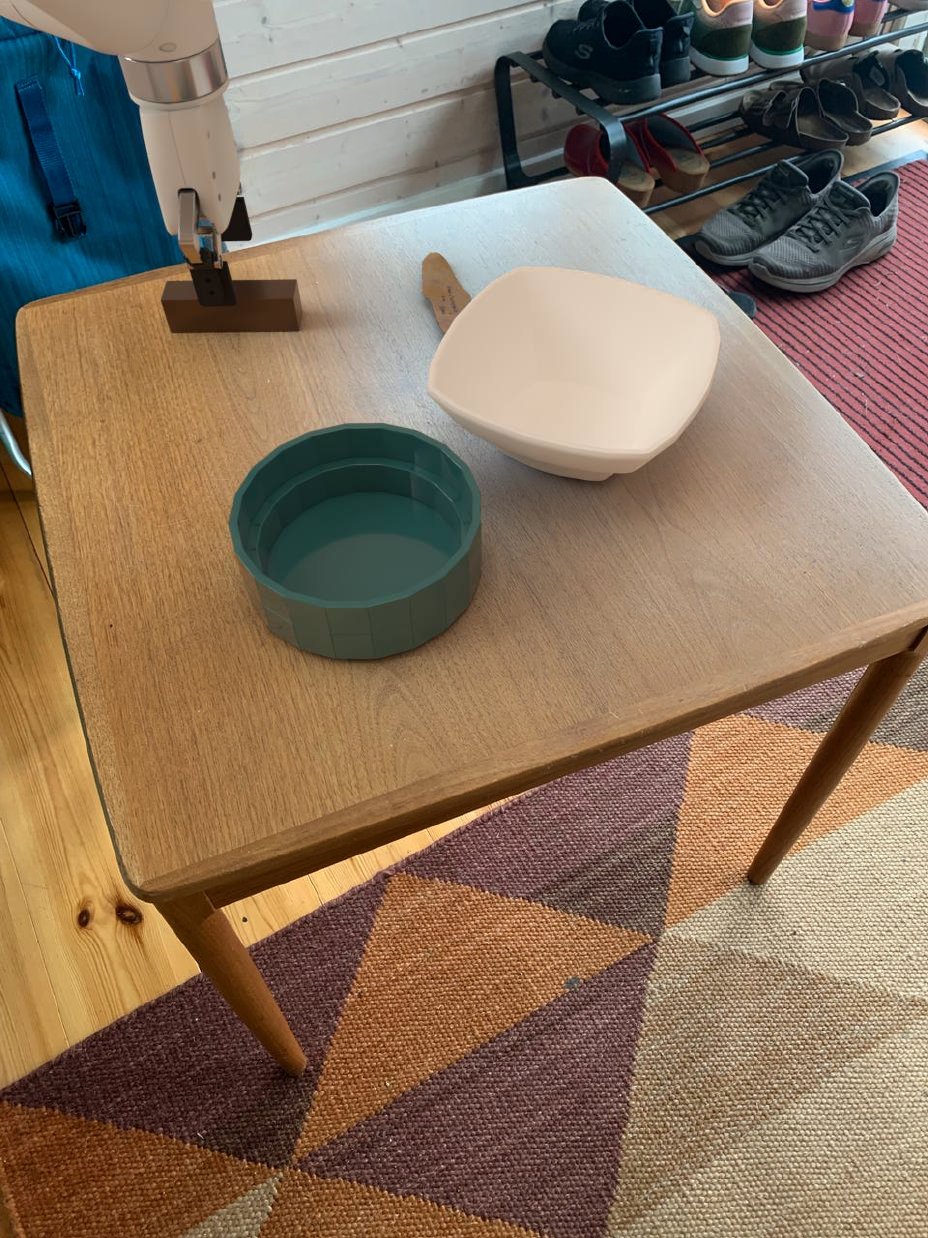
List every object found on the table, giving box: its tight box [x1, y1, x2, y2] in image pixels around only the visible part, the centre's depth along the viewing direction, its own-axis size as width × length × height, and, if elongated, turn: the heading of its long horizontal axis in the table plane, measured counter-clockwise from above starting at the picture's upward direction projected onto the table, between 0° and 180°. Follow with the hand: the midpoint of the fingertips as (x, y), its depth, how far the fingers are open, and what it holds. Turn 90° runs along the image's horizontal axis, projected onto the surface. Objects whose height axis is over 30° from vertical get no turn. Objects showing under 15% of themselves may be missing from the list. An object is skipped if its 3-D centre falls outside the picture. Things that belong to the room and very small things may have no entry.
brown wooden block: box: [160, 278, 303, 333], centre depth 85 cm, size 12×3×4 cm, turn 90°
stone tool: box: [421, 251, 472, 334], centre depth 87 cm, size 5×2×15 cm
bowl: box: [426, 265, 723, 482], centre depth 73 cm, size 21×21×9 cm
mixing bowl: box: [228, 422, 482, 660], centre depth 66 cm, size 17×17×6 cm
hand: (227, 270), depth 83 cm, fingers open, 9 cm apart
